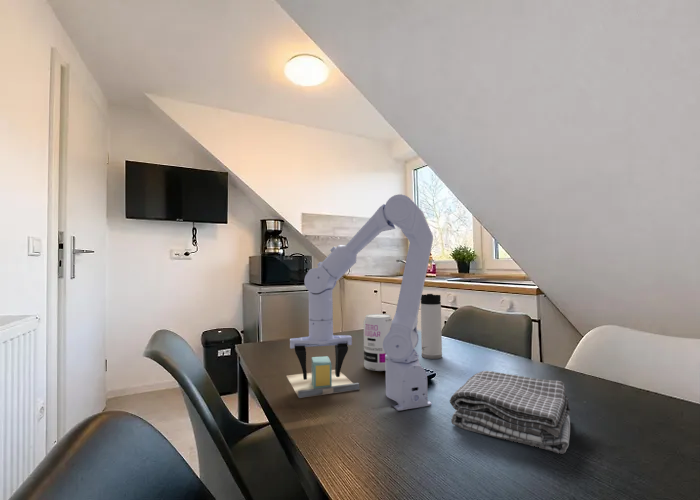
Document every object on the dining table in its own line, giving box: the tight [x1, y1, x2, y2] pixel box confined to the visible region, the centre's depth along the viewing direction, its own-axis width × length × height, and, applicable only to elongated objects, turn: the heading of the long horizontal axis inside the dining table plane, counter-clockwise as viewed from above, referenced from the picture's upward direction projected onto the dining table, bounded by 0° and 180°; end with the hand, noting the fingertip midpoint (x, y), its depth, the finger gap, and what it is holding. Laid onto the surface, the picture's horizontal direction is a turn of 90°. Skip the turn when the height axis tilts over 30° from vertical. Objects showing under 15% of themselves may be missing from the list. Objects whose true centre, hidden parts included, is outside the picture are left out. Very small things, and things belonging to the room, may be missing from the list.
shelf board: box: [286, 369, 361, 399], centre depth 85 cm, size 16×14×2 cm
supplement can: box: [363, 313, 393, 372], centre depth 98 cm, size 8×8×15 cm
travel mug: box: [420, 293, 443, 360], centre depth 110 cm, size 6×7×20 cm
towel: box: [449, 370, 572, 455], centre depth 64 cm, size 15×18×8 cm
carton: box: [311, 355, 333, 389], centre depth 82 cm, size 4×6×6 cm, turn 11°
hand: (321, 377), depth 83 cm, fingers open, 7 cm apart
